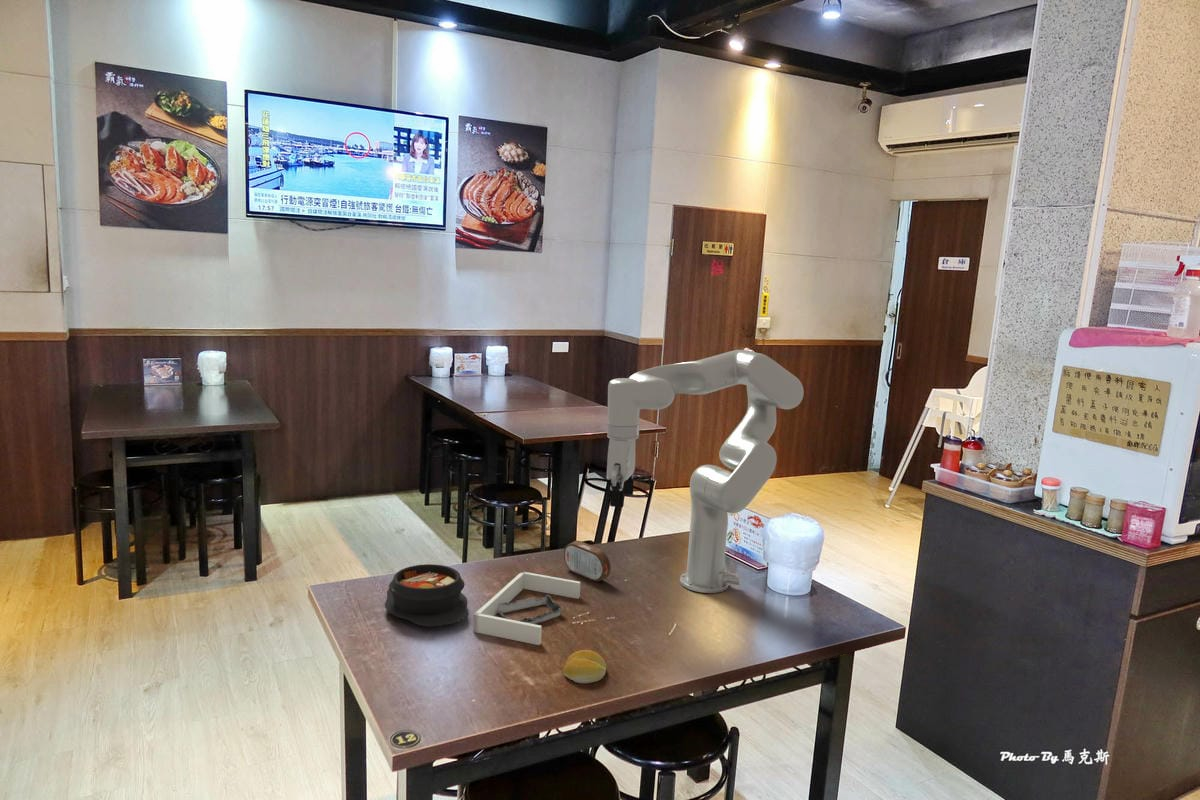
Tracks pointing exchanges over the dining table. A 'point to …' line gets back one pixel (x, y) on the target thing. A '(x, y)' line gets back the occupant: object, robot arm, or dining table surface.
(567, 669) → the bread roll
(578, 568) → the tin
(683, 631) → the dining table surface
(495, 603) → the box
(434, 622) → the casserole
